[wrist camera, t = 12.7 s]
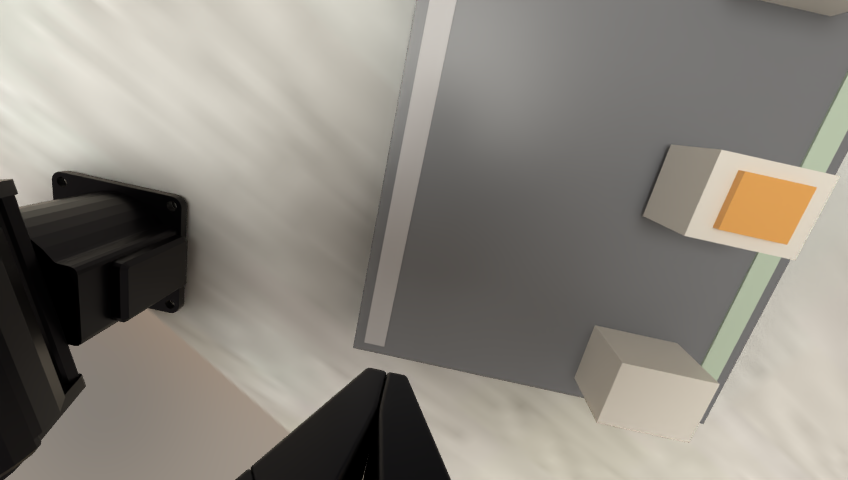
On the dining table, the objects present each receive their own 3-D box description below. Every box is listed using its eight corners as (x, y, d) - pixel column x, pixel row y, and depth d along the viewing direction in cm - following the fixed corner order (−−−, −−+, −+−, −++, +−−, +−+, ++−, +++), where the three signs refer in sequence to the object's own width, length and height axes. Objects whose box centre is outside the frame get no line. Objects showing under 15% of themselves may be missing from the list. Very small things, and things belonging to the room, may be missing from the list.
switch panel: (361, 327, 21) (337, 386, 17) (454, -173, 15) (458, -313, 10) (680, 396, 22) (747, 475, 17) (910, -68, 15) (1126, -156, 10)
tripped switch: (642, 215, 16) (689, 238, 13) (670, 144, 16) (727, 150, 12) (734, 236, 16) (802, 263, 13) (767, 166, 16) (849, 177, 12)
